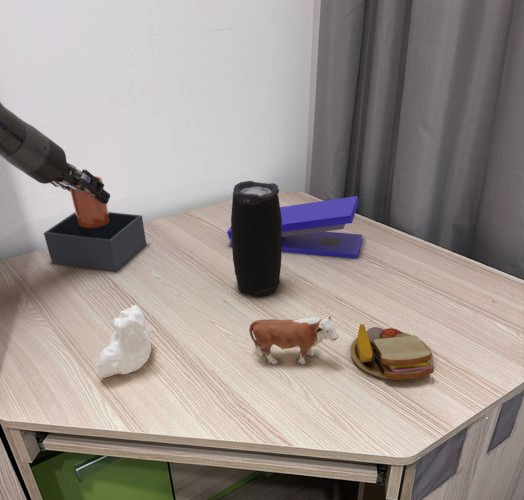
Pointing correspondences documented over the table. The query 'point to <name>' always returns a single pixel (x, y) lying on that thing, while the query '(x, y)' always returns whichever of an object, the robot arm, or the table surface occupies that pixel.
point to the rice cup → (89, 209)
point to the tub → (96, 242)
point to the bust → (126, 344)
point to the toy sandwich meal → (391, 354)
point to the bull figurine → (291, 335)
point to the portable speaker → (256, 237)
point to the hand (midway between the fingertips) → (94, 196)
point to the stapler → (319, 228)
